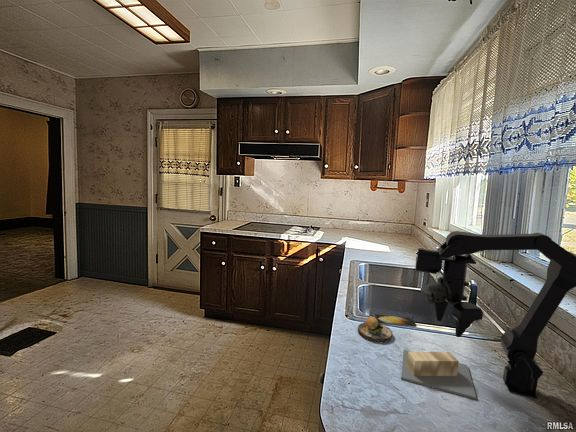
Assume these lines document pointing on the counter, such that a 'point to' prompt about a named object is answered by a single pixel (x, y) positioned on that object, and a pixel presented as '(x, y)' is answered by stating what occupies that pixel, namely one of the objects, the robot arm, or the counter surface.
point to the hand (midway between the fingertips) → (448, 328)
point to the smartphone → (395, 320)
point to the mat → (443, 380)
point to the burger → (374, 331)
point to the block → (432, 364)
